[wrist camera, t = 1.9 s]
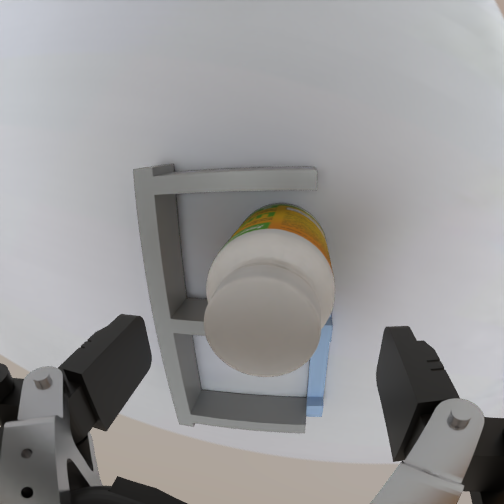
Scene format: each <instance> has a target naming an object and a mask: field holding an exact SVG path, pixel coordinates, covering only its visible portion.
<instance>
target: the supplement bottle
mask: <svg viewBox="0 0 504 504" xmlns="http://www.w3.org/2000/svg"><path fill="white" fill-rule="evenodd" d="M206 295H207V301H208V305H207V307H206V310H205V315H204V331H205V335H206V338H207V341H208V343H209V345H210V346H211V348H212V350H213V351H214V352H215V354H216V355H217V356H218V357H219V358H220V359H221V360H222V361H223V362H225V363H226V364H227V365H229V366H230V367H232V368H234V369H236V370H238V371H240V372H242V373H246V374H249V375H254V376H259V377H274V376H280V375H284V374H287V373H290V372H292V371H294V370H296V369H298V368H300V367H301V366H303V365H304V364H305V363H306V362H307V361H308V360H309V359H310V358H311V357H312V355H313V354H314V352H315V351H316V349H317V346H318V344H319V341H320V336H321V329H322V328H323V327H324V325H325V324H326V322H327V320H328V319H329V317H330V314H331V312H332V309H333V305H334V300H335V283H334V276H333V271H332V267H331V262H330V257H329V252H328V247H327V243H326V238H325V235H324V232H323V230H322V228H321V226H320V225H319V223H318V222H317V220H316V219H315V218H314V217H313V216H312V215H311V214H310V213H308V212H307V211H305V210H304V209H302V208H300V207H297V206H294V205H290V204H283V203H279V204H271V205H267V206H264V207H262V208H260V209H258V210H256V211H255V212H254V213H252V214H251V215H250V216H249V217H248V218H247V219H246V220H245V221H244V222H243V224H242V225H241V226H240V227H239V229H238V230H237V231H236V232H235V233H234V235H233V236H232V237H231V238H230V240H229V241H228V242H227V243H226V245H225V246H224V247H223V248H222V249H221V251H220V252H219V253H218V255H217V257H216V258H215V260H214V261H213V263H212V265H211V267H210V270H209V273H208V277H207V283H206Z"/></svg>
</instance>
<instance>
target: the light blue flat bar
mask: <svg viewBox="0 0 504 504" xmlns="http://www.w3.org/2000/svg"><path fill="white" fill-rule="evenodd" d="M332 327H333V324H332V313H331V314H330V317H329V319H328V320H327V322H326V324H325V325H324V327H323V328H322V329H321V336H320V341H319V344H318V346H317V349H316V351H315V352H314V354H313V355H312V357H311V358H310V364H309V377H308V389H307V405H306V416H309V417H322V412H323V394H324V387H325V378H326V370H327V361H328V351H329V342H331V338H332Z"/></svg>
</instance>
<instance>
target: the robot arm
mask: <svg viewBox="0 0 504 504" xmlns="http://www.w3.org/2000/svg"><path fill="white" fill-rule="evenodd" d="M151 361H152V355H151V350H150V346H149V341H148V336H147V332H146V327H145V322H144V320H143V318H142V317H141V316H134V315H125V314H121V315H119V316H118V317H117V318H116V319H115V320H114V321H113V322H111V323H110V324H109V325H108V326H107V327H105V328H103V329H101V330H99V331H97V332H96V333H94V334H93V335H92V336H91V337H90V338H89V339H88V341H86V342H85V343H84V344H83V345H82V346H81V348H78V349H77V350H76V351H75V352H74V353H73V354H72V355H71V356H70V357H69V358H68V359H67V360H66V361H65V362H64V363H63V364H61V365H60V366H59V367H58V368H56V367H51V366H46V367H41V368H38V369H35V370H33V371H32V372H30V373H29V374H28V375H27V376H26V377H25V379H17V378H12V377H11V375H10V372H9V370H8V368H7V367H6V365H4V364H1V363H0V425H1V427H0V504H187V503H185V502H183V501H181V500H179V499H176V498H174V497H172V496H170V495H168V494H166V493H164V492H163V491H160V490H159V489H157V488H153V487H150V486H146V485H143V484H140V483H136V482H133V481H130V480H127V479H124V478H121V477H118V476H117V478H116V480H115V482H114V483H113V485H112V486H103V485H102V483H101V480H100V477H99V472H98V467H97V462H96V457H95V452H94V446H93V440H92V436H91V434H90V432H89V431H90V430H91V429H92V427H94V428H98V429H100V430H103V431H107V430H108V428H109V427H110V425H111V424H112V423H113V421H114V420H115V418H116V417H117V415H118V414H119V412H120V411H121V409H122V408H123V407H124V405H125V404H126V402H127V401H128V399H129V398H130V396H131V395H132V394H133V392H134V391H135V389H136V388H137V386H138V385H139V384H140V382H141V381H142V379H143V378H144V376H145V375H146V374H147V372H148V371H149V369H150V366H151ZM376 381H377V387H378V391H379V396H380V400H381V404H382V409H383V413H384V418H385V422H386V427H387V432H388V437H389V442H390V447H391V452H392V457H393V462H395V461H402V462H401V463H400V464H399V465H398V467H397V468H396V470H395V471H394V473H393V474H392V475H391V477H390V478H389V479H388V481H387V482H386V483H385V485H384V486H383V488H382V489H381V490H380V491H379V493H378V494H377V495H376V496H375V498H374V499H373V500H372V502H371V503H370V504H457V502H458V500H459V498H460V496H461V494H462V491H470V494H471V499H472V503H473V504H504V418H488V417H484V415H483V412H482V411H481V409H480V408H479V407H478V406H477V405H475V404H474V403H472V402H471V401H468V400H465V399H460V397H459V395H458V393H457V391H456V389H455V387H454V386H453V384H452V382H451V380H450V378H449V376H448V374H447V372H446V370H444V366H443V364H442V363H441V361H440V359H439V357H438V355H437V353H436V352H435V350H434V349H433V348H432V347H431V346H430V345H428V344H427V343H426V342H425V341H417V340H416V338H415V336H414V335H413V333H412V331H411V329H410V327H409V326H394V327H386V328H385V330H384V334H383V339H382V344H381V350H380V355H379V360H378V365H377V372H376ZM403 460H405V461H403Z"/></svg>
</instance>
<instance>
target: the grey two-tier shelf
mask: <svg viewBox="0 0 504 504" xmlns="http://www.w3.org/2000/svg"><path fill="white" fill-rule="evenodd" d="M133 175H134V186H135V197H136V206H137V215H138V224H139V232H140V239H141V247H142V254H143V261H144V267H145V273H146V280H147V285H148V291H149V297H150V302H151V308H152V313H153V318H154V323H155V328H156V333H157V338H158V342H159V347H160V351H161V356H162V360H163V364H164V368H165V373H166V377H167V381H168V385H169V389H170V392H171V396H172V400H173V404H174V407H175V411H176V414H177V418H178V421H179V424H180V425H186V426H191V427H194V425H195V423H197V424H203V425H210V426H217V427H225V428H234V429H243V430H254V431H267V432H284V433H305V426H306V405H307V397H280V396H262V395H249V394H237V393H226V392H217V391H208V390H201V385H200V379H199V373H198V368H197V362H196V356H195V350H194V343H193V337H192V335H201V336H206V335H205V331H204V315H205V310H206V307H207V305H208V301H207V299H198V298H187V295H186V287H185V280H184V271H183V263H182V254H181V245H180V235H179V225H178V215H177V203H176V194H179V193H200V192H226V191H271V190H317V169H316V168H315V167H258V168H231V169H211V170H195V171H181V172H174V164H169V165H158V166H151V167H145V168H139V169H133Z"/></svg>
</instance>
